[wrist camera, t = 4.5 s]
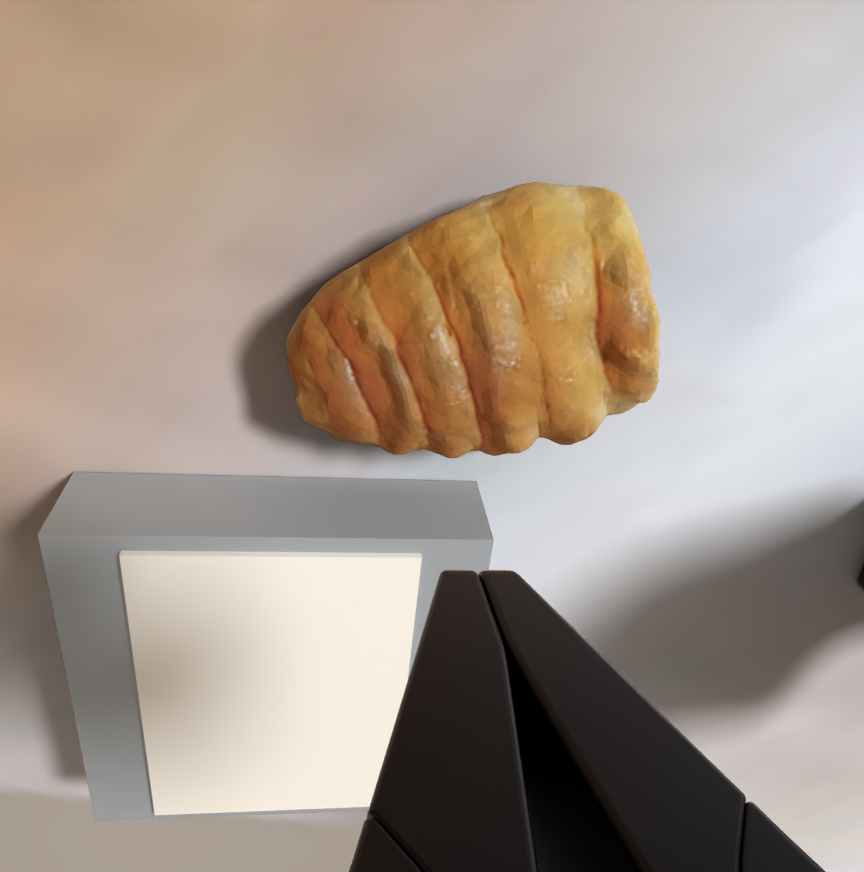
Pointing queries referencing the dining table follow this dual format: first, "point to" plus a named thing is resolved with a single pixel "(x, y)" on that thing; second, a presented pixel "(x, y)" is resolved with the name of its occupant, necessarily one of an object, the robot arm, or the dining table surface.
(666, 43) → the dining table surface
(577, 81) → the dining table surface
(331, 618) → the plinth
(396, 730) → the robot arm
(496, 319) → the pastry
